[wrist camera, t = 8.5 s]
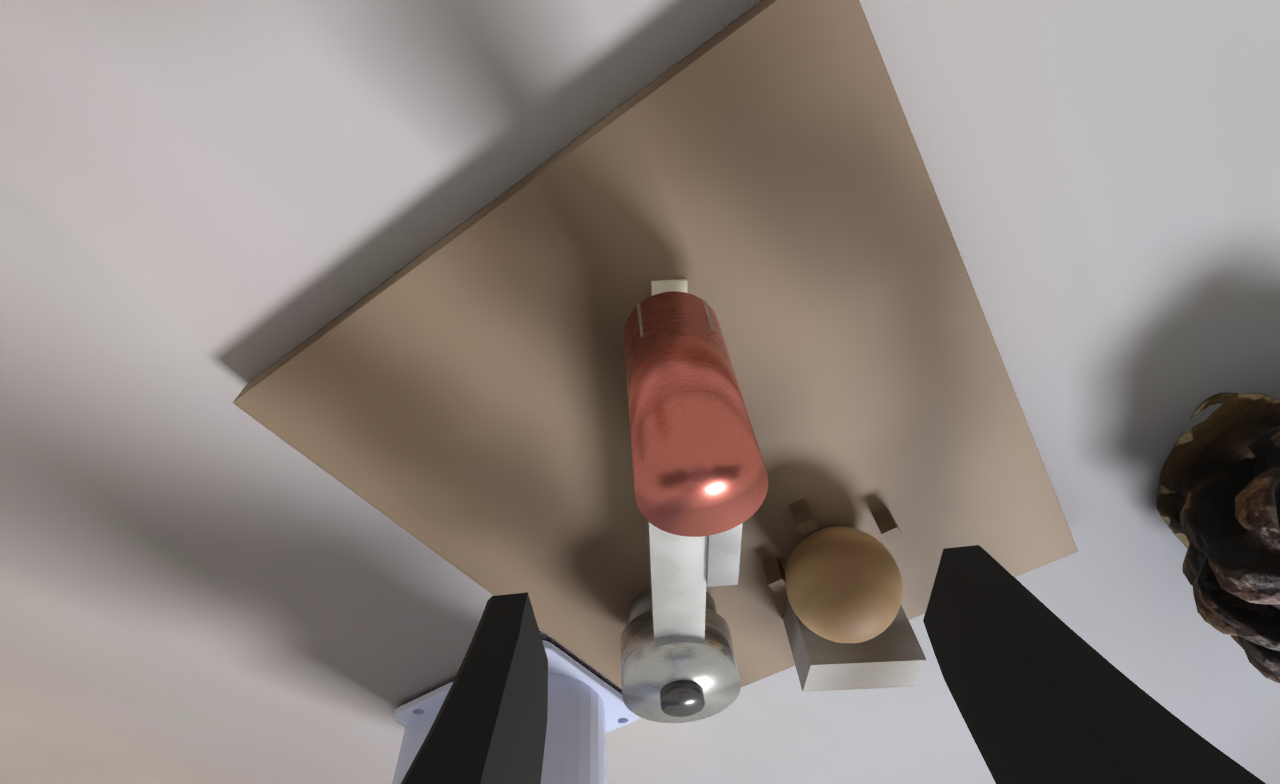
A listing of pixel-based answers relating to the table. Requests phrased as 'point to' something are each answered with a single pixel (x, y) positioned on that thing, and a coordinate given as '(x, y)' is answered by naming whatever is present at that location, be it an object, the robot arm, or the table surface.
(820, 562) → the tan round ball
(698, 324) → the lever
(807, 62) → the base
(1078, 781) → the robot arm
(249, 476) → the table surface
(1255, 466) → the pine cone
